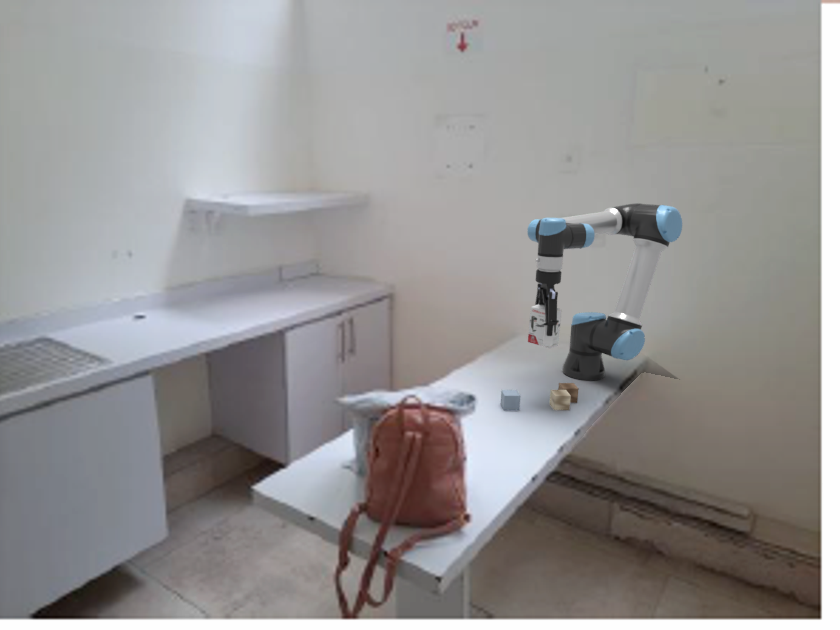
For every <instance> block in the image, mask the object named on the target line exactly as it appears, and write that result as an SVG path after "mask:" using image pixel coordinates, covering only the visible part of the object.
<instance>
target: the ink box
mask: <svg viewBox="0 0 840 630" xmlns="http://www.w3.org/2000/svg"><path fill="white" fill-rule="evenodd" d="M562 312H563V311H562V309H561V308H559V307H557V325H554V331H553V343H552V346H543V337H544V325H543V324H544V323H546V318H545V305H539V304H538V305H535V304H534V305H532V306H530V314H529V324H528V336H527V342H528V343H529V344H530V343H531V344H534V345H537V346H541V347H544V348H548V349H551V348H554V347H557V346H559V339H560V331H561V321H562V319H561V318H562ZM551 321H552V320H551Z"/></svg>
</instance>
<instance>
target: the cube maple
mask: <svg viewBox="0 0 840 630" xmlns="http://www.w3.org/2000/svg"><path fill="white" fill-rule="evenodd" d="M549 391H550V392H549V393H550V394H549V402H548V404H549V406H550V407H551V409H552V410H553V411H571V410H570V409H571V403H570V399H571V395H570V394H569V393H568V392H567V391H566V390H558V389H550V390H549Z"/></svg>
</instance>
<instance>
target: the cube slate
mask: <svg viewBox="0 0 840 630" xmlns="http://www.w3.org/2000/svg"><path fill="white" fill-rule="evenodd" d="M520 404H521V394H520V393H519V391H518V389H501V390H500V406H501V408H502V410H503V411H520V409H521V408H520V406H521V405H520Z"/></svg>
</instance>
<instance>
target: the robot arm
mask: <svg viewBox="0 0 840 630" xmlns="http://www.w3.org/2000/svg"><path fill="white" fill-rule="evenodd" d="M682 231H683V218H682V215H681V213H680V211H679V210H678V208H676V207H675V206H672V205H671V206H670V205H665V204H647V203H646V204H645V203H639V202H638V203H629V204H622V205H617V206H612V207H607V208H605V209H604V210H602V211H599V212H591V213H583V214H579V215H573V216H572V215H571V216H564V217H544V218H539V219H538V218H535V219H533V220H531V222H530V223H528V226H527V237H528V238H529V240H531V241H532V242H535V243H538V244H537V258H535V263H536V268H537V269H536V271H535V281H536V282H537V287H536V288H537V289H536V296H535V303H534V306H535V305H538V304H539V305H545V318H546V323H544V324H543V325H544V337H543V346H542V347H544V346H552V343H553V331H554V325H557V308H558V296H559V293H558V291H556V289H555V285H558V284H561V282H562V271H561V270H562V269H563V264H564V263H563V261H564V250H570V249H571V250H574V249H584V248H588V247H591V245H592V244H593V243H594V240H595V237H596V235H602V234H606V235H609V236H613V235H622V236H627V237H633V239H632V241H633V243H634V244H635V246H634V250H633V254H632V256H631V260H630V262H629V266H628V268H627V272H626V275H625V277H624V281H623V284H622V287H621V290H620V293H619V296H618V299H617V302H616V305H615V308H614V311H613V312H612V313H609V314H608V315H607V314H606V313H602V312H593V311H591V312H589V311H588V312H579V313H575V314H574V315H573V317H572V322H571V323H570V325H571V326H570V336H569V337H570V339H569V350H568V354H567V356H566V358H565V361H564V363H563V364H562V373H563V374H564V375H566V376H567V377H569V378H573V379H578V380H583V381H598V380H601V379H603V378H605V374H606V369H605V364H604V360H603V359H604V358H603V355H606V356H609V357H612V358H614V359H617V360H622V361H630V360H633V359H634V358H635V357H637V356H638V355H639V354H640V353H641V351H642V350H643V348H644V345H645V341H646V338H645V332H644V331H643V330H642V327H643V324H642V322H641V320H640V319H641V315H642V311H643V310H644V306H645V303H646V300H647V297H648V294H649V291H650V287H651V286H652V282H653V279H654V275H655V272H656V270H657V268H658V267H657V266H658V264H659V260H660V258H661V254H662V253H663V252H664V251H666V250H668V249H669V245H670V244H671V243H673V242H675V241H677V240H678V239H679V238H680V236H681V233H682ZM551 320H552V321H551ZM602 354H603V355H602Z"/></svg>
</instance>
